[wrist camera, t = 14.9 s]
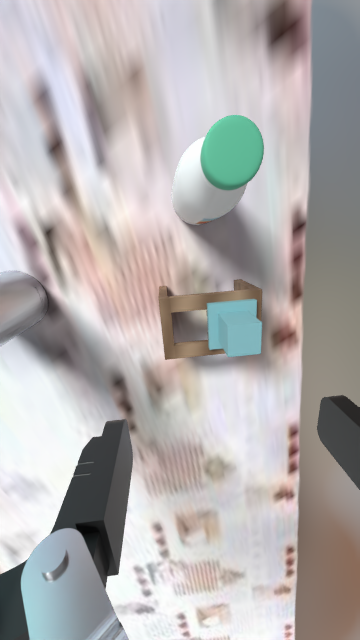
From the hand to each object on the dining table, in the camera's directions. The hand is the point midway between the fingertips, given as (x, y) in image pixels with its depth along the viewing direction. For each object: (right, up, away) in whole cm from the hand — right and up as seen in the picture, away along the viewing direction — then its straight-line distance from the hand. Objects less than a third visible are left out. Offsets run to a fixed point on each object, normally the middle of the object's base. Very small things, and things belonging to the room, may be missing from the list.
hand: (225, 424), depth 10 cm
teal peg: (+5, +5, +27) cm, 28 cm away
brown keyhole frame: (+2, +6, +32) cm, 33 cm away
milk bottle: (+1, +23, +27) cm, 35 cm away
